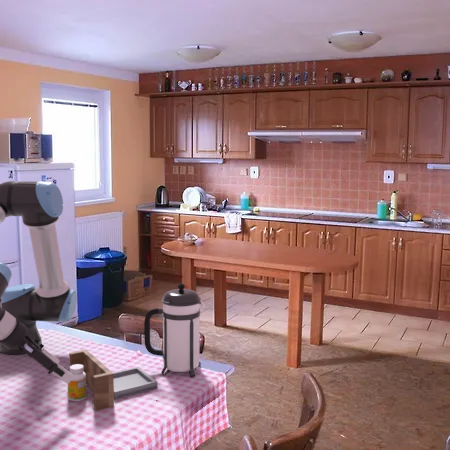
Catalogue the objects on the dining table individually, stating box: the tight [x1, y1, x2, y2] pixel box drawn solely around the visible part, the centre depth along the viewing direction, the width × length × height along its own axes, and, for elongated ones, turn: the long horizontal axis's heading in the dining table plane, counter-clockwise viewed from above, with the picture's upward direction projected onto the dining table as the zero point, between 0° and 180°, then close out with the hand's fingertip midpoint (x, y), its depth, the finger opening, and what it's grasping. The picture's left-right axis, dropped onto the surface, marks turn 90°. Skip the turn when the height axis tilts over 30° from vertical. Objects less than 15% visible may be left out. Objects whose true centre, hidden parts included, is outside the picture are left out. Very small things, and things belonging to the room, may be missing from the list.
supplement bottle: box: [67, 364, 88, 402], centre depth 166 cm, size 5×5×10 cm
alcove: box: [69, 349, 115, 412], centre depth 168 cm, size 22×6×10 cm, turn 33°
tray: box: [112, 366, 158, 400], centre depth 175 cm, size 14×14×2 cm
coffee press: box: [143, 282, 206, 378], centre depth 185 cm, size 17×16×30 cm
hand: (63, 371), depth 162 cm, fingers open, 13 cm apart
